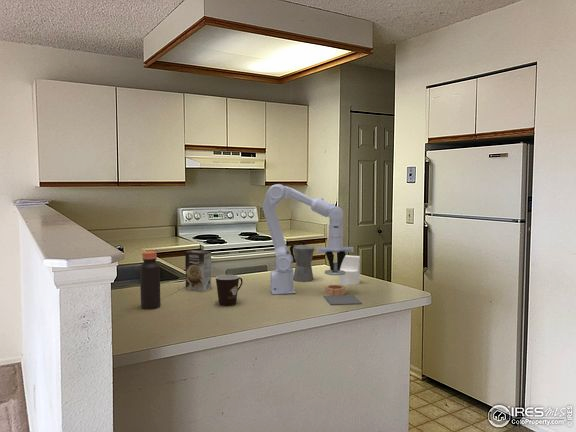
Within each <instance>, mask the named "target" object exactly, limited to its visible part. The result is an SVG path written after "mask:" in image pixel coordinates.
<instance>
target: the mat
mask: <svg viewBox="0 0 576 432" xmlns="http://www.w3.org/2000/svg"><path fill="white" fill-rule="evenodd" d="M323 298H324V300H325V301H326V302H327V303H328V304H329V306H346V305H347V306H348V305H363V302H362V301H360V299H359V298H357V297H356V296H355V295H354V294H343V295H323Z"/></svg>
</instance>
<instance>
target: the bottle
mask: <svg viewBox="0 0 576 432" xmlns="http://www.w3.org/2000/svg"><path fill="white" fill-rule="evenodd" d="M157 252H158V251H154V250H153V251H151V250H148V251H143V252H142V255H141V257H142V261H143V262H142V264H141V265H140V267H139V278H140V279H139V281H140V286H139V287H140V308H141V309H142V310H155V309H159V308H160V307H161V304H162V303H161V271H160V270H161V268H160V266H161V265H160V264H159V263H158V262H157V257H158V255H157Z"/></svg>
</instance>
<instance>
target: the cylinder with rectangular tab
mask: <svg viewBox="0 0 576 432" xmlns="http://www.w3.org/2000/svg"><path fill="white" fill-rule="evenodd" d="M340 270H343V271H345V272H346V274H344V275H338V276H339V277H338V278H339V281H338V282H339V284H341V285H344V284H345V285H344V286H357V285H359V284H360V283H361V281H360V280H361V278H360V276H361V275H360V273H361V256H360V255H350V254H349V255H348V254H346V255H345V257H344V259H343V261H342V264H341V268H340ZM356 284H357V285H356Z"/></svg>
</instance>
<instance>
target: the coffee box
mask: <svg viewBox="0 0 576 432" xmlns="http://www.w3.org/2000/svg"><path fill="white" fill-rule="evenodd" d="M184 253H185V254H184V255H185V256H184V257H185V258H184V259H185V260H184V261H185V263H184V264H185V265H184V266H185V290H187V291H193V292H194V291H195V292H200V293H201V292H204V293H205V292H206V291H209V290H211V289H212V251H211V250H199V249H191V250H187V251H185V252H184Z"/></svg>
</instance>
